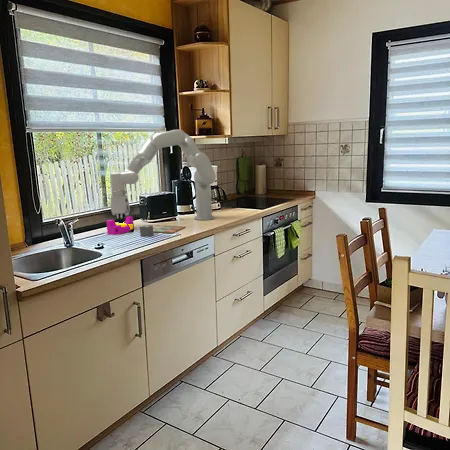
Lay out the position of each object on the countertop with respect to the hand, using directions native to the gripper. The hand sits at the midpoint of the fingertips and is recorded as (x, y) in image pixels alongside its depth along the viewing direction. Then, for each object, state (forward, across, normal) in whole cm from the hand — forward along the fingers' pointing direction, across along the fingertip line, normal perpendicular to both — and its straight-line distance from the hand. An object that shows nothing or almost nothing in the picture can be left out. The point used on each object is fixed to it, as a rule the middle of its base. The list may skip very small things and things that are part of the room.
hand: (121, 224), depth 245 cm
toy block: (+2, -6, +9) cm, 11 cm away
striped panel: (+2, -28, 0) cm, 28 cm away
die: (+2, -25, +14) cm, 29 cm away
